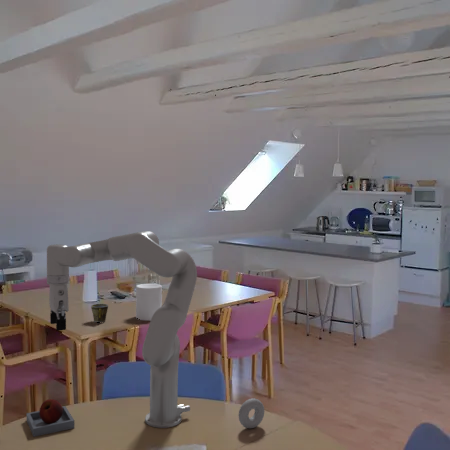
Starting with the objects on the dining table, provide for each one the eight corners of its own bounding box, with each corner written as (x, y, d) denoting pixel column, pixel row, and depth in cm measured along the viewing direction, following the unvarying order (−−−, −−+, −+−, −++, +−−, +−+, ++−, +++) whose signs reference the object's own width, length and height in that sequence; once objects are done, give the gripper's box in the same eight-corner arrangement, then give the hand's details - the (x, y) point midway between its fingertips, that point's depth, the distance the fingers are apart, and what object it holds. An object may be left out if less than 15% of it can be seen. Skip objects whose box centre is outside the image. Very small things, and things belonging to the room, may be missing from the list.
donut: (260, 422, 177) (261, 394, 177) (266, 426, 174) (266, 397, 174) (236, 428, 172) (236, 400, 171) (241, 433, 169) (242, 403, 169)
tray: (65, 413, 182) (65, 405, 181) (74, 427, 170) (74, 420, 170) (26, 420, 175) (26, 413, 175) (33, 436, 164) (33, 428, 164)
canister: (165, 318, 319) (166, 287, 317) (141, 321, 311) (141, 289, 309) (155, 313, 332) (156, 282, 331) (132, 315, 324) (132, 284, 323)
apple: (34, 424, 171) (34, 401, 171) (51, 415, 178) (51, 393, 178) (50, 429, 168) (50, 405, 167) (67, 420, 175) (67, 397, 174)
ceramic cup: (90, 320, 311) (90, 304, 311) (107, 319, 314) (107, 303, 314) (91, 325, 299) (91, 308, 298) (109, 324, 302) (109, 307, 301)
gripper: (74, 282, 176) (74, 331, 177) (63, 275, 191) (63, 320, 192) (52, 284, 172) (52, 334, 173) (42, 276, 187) (42, 322, 188)
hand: (58, 326), depth 183 cm, fingers open, 9 cm apart
